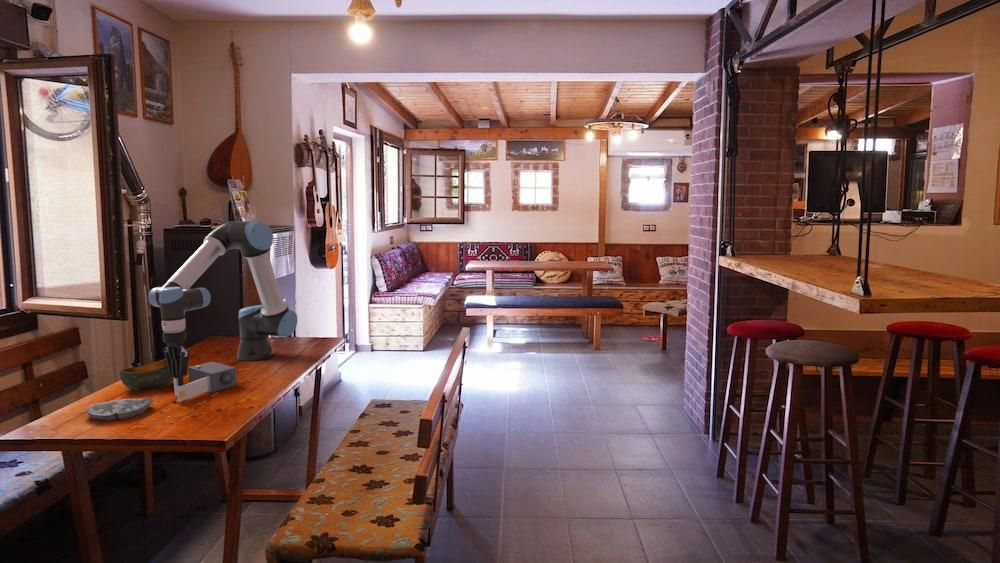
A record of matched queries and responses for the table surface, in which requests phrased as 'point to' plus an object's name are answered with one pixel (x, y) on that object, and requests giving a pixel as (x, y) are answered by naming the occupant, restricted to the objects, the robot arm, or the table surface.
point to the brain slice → (118, 409)
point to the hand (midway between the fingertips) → (179, 394)
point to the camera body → (214, 375)
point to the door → (193, 388)
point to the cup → (147, 376)
